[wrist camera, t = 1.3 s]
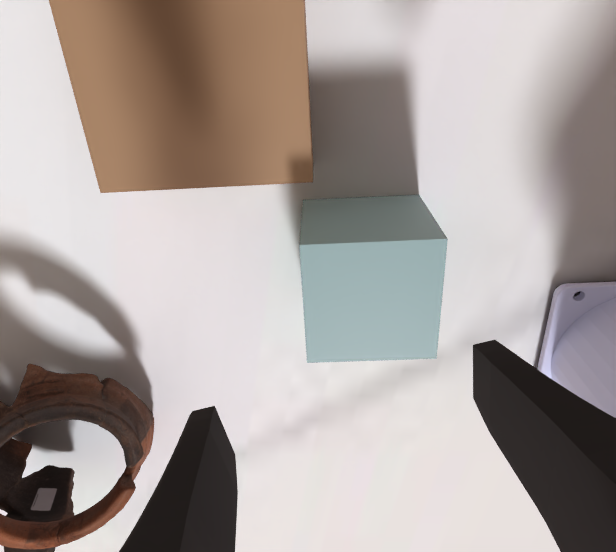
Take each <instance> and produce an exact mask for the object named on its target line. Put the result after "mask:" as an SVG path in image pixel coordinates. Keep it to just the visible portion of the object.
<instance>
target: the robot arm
mask: <svg viewBox="0 0 616 552" xmlns="http://www.w3.org/2000/svg"><path fill="white" fill-rule="evenodd" d="M579 291H581V292H580V294H579V295H578V296H575V297H573V296H574V294H575V293H576V292H579ZM473 398H474V400H475V403H476V405H477V407H478V409H479V411H480V413H481V416H482V418H483V420H484V422H485V424H486V426H487V428H488V430H489V432H490V433H491V435H492V437H493V438H494V440H495V442H496V443H497V445H498V446H499V448H500V450H501V451H502V453H503V454H504V456H505V458H506V459H507V461H508V462H509V464H510V465H511V467H512V469H513V470H514V472H515V473H516V475H517V476H518V478H519V480H520V481H521V483H522V484H523V486H524V488H525V489H526V491H527V492H528V494H529V495H530V497H531V499H532V500H533V502H534V503H535V505H536V506H537V508H538V510H539V512H540V513H541V515H542V517H543V518H544V520H545V522H546V524H547V526H548V528H549V529H550V531H551V533H552V535H553V537H554V539H555V541H556V543H557V545H558V547H559V549H560V551H561V552H616V282H593V283H567V284H562V285H560V286H558V287H557V288H556V289H555V291H554V294H553V299H552V303H551V308H550V312H549V317H548V322H547V326H546V331H545V335H544V340H543V345H542V349H541V354H540V358H539V363H538V368H537V369H536V368H535V367H533V366H532V365H530V364H529V363H527V362H526V361H524V360H523V359H522V358H520V357H519V356H517V355H516V354H515V353H513V352H512V351H510V350H509V349H507V348H506V347H505V346H503V345H502V344H500V343H499V342H497V341H496V340H492V341H488V342H483V343H479V344H475V345H473ZM237 493H238V491H237V474H236V461H235V453H234V451H233V449H232V446H231V444H230V441H229V439H228V437H227V434H226V432H225V430H224V427H223V425H222V422H221V420H220V418H219V415H218V413H217V411H216V408H215V406H212V407H208V408H204V409H200V410H195V411H192V413H191V414H190V416H189V418H188V421H187V423H186V425H185V428H184V430H183V432H182V435H181V437H180V439H179V441H178V444H177V446H176V448H175V450H174V452H173V455H172V457H171V459H170V461H169V463H168V465H167V467H166V469H165V471H164V473H163V475H162V477H161V479H160V481H159V483H158V485H157V487H156V489H155V491H154V493H153V495H152V497H151V498H150V500H149V502H148V504H147V506H146V507H145V509H144V511H143V513H142V515H141V516H140V518H139V520H138V522H137V524H136V525H135V527H134V529H133V530H132V532H131V534H130V535H129V537H128V538H127V540H126V542H125V543H124V545H123V546H122V548H121V549H120V551H119V552H235V537H236V516H237Z"/></svg>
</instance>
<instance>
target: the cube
mask: <svg viewBox="0 0 616 552" xmlns="http://www.w3.org/2000/svg"><path fill="white" fill-rule="evenodd" d="M299 247H300V262H301V277H302V292H303V307H304V322H305V337H306V352H307V363H314V362H345V361H376V360H407V359H436V358H437V348H438V337H439V326H440V315H441V304H442V293H443V282H444V271H445V260H446V249H447V237H446V236H445V234H444V233H443V231H442V230H441V228H440V227H439V225H438V223H437V222H436V220H435V219H434V217H433V216H432V214H431V213H430V211H429V210H428V208H427V206H426V205H425V203H424V202H423V200H422V199H421V197H420V196H419V195H400V196H378V197H356V198H335V199H313V200H303V207H302V219H301V231H300V243H299Z"/></svg>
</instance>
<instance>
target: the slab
mask: <svg viewBox="0 0 616 552" xmlns="http://www.w3.org/2000/svg"><path fill="white" fill-rule="evenodd" d="M49 3H50V6H51V10H52V14H53V17H54V21H55V25H56V29H57V32H58V36H59V40H60V44H61V47H62V51H63V55H64V58H65V62H66V66H67V70H68V73H69V77H70V81H71V84H72V88H73V92H74V96H75V99H76V103H77V107H78V111H79V114H80V118H81V122H82V125H83V129H84V133H85V137H86V140H87V144H88V148H89V151H90V155H91V159H92V163H93V166H94V170H95V174H96V178H97V181H98V185H99V189H100V192H101V193H108V192H128V191H147V190H167V189H187V188H207V187H227V186H246V185H266V184H286V183H306V182H313V151H312V132H311V112H310V92H309V72H308V52H307V33H306V13H305V0H49Z"/></svg>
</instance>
